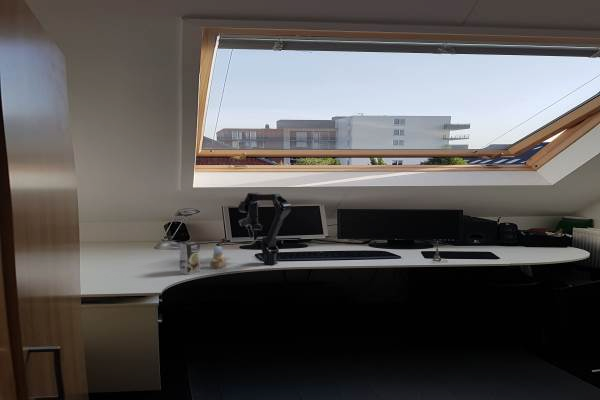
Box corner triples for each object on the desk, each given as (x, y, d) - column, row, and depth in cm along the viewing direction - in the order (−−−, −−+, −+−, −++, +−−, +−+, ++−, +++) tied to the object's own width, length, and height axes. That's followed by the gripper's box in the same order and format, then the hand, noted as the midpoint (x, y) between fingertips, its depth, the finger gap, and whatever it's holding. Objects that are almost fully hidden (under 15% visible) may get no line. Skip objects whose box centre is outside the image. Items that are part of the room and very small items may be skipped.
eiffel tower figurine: (431, 264, 261) (432, 242, 260) (421, 260, 271) (422, 239, 270) (452, 262, 267) (453, 240, 265) (441, 259, 276) (442, 238, 275)
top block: (223, 259, 249) (223, 252, 249) (221, 261, 244) (221, 254, 244) (215, 259, 250) (215, 252, 249) (212, 261, 245) (212, 254, 244)
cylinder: (223, 253, 248) (223, 246, 248) (219, 254, 244) (219, 247, 244) (216, 252, 250) (216, 245, 249) (212, 254, 245) (212, 247, 245)
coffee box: (188, 274, 230) (188, 244, 229) (179, 273, 233) (179, 243, 232) (200, 271, 238) (200, 241, 237) (191, 269, 241) (191, 240, 240)
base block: (225, 267, 249) (225, 260, 248) (219, 269, 243) (219, 262, 243) (217, 265, 251) (217, 259, 251) (210, 268, 246) (210, 261, 246)
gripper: (236, 212, 269) (236, 237, 271) (243, 215, 252) (243, 242, 253) (253, 211, 273) (253, 236, 275) (262, 215, 256) (262, 241, 257)
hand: (253, 239), depth 265 cm, fingers open, 9 cm apart
